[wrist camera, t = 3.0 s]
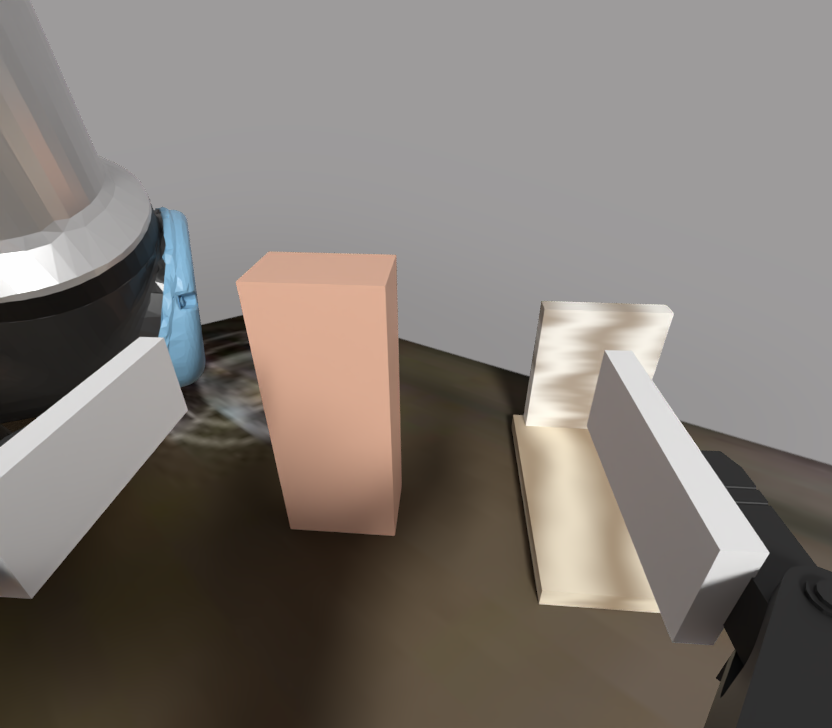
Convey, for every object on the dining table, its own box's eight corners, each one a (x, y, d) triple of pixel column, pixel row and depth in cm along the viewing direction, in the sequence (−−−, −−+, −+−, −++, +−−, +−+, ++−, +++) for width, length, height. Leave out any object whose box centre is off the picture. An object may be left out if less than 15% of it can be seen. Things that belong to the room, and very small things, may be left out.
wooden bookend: (538, 603, 30) (577, 448, 23) (511, 426, 45) (529, 300, 38) (730, 618, 29) (832, 462, 22) (636, 432, 44) (678, 305, 37)
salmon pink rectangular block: (290, 529, 35) (235, 281, 24) (308, 480, 39) (268, 251, 28) (394, 536, 34) (385, 286, 24) (401, 485, 39) (396, 254, 28)
